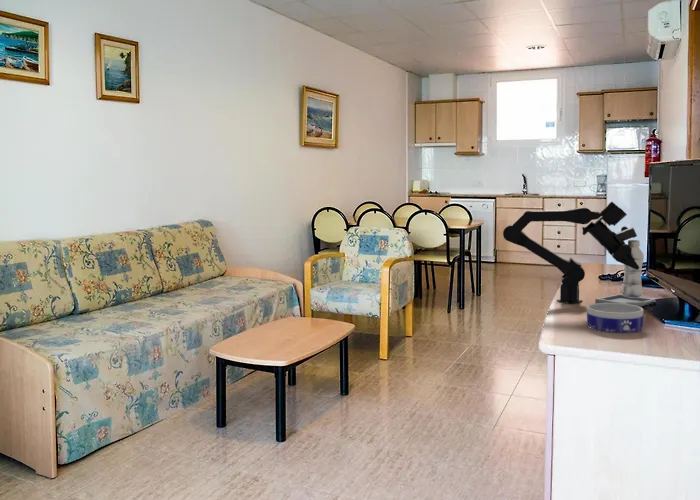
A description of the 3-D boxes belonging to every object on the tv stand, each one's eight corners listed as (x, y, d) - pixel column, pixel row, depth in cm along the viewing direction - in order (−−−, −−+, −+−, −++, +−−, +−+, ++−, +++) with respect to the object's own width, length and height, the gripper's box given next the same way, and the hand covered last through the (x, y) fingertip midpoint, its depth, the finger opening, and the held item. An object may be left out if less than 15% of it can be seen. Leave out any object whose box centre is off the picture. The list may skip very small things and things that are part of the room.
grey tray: (632, 309, 204) (632, 304, 204) (595, 302, 215) (595, 298, 215) (655, 303, 212) (655, 299, 211) (618, 298, 223) (618, 294, 223)
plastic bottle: (628, 295, 217) (630, 239, 215) (646, 298, 211) (648, 240, 209) (617, 297, 213) (619, 240, 211) (634, 300, 208) (637, 241, 206)
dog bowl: (609, 335, 171) (610, 314, 170) (575, 324, 185) (576, 304, 185) (655, 330, 175) (655, 310, 174) (618, 320, 189) (618, 300, 189)
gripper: (625, 220, 202) (660, 254, 199) (618, 217, 219) (651, 248, 217) (599, 244, 205) (633, 277, 203) (594, 239, 223) (626, 269, 220)
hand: (637, 267), depth 211 cm, fingers closed on plastic bottle, 6 cm apart
